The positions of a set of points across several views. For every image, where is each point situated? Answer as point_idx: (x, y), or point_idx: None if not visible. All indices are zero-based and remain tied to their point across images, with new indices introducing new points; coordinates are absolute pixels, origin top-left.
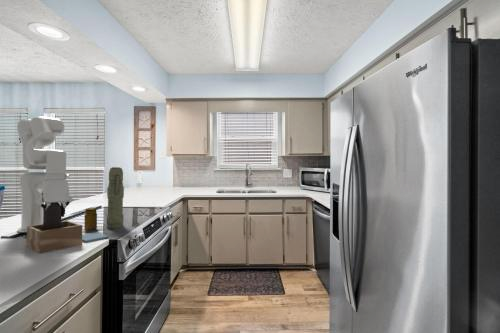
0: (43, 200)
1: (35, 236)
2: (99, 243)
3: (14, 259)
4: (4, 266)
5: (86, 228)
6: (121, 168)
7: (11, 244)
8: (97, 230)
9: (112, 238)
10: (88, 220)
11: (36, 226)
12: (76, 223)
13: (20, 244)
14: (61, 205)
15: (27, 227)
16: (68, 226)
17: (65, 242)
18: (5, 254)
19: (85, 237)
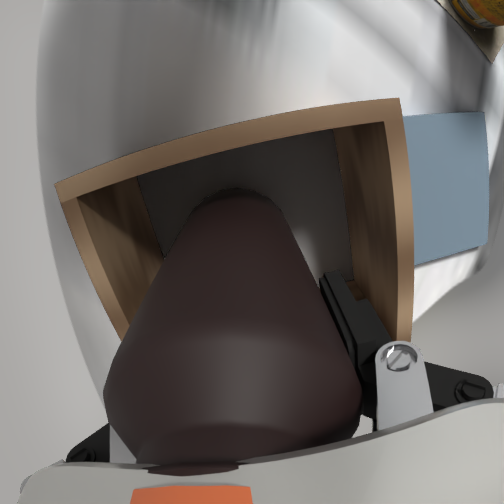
0: (55, 478)
1: None
2: (420, 309)
3: (102, 345)
4: (96, 389)
5: (461, 3)
6: None
7: (59, 69)
8: (494, 41)
9: (487, 257)
10: (502, 3)
11: (118, 181)
12: (409, 286)
13: (92, 89)
14: (380, 389)
15: (62, 193)
16: (372, 161)
17: None
18: (56, 257)
19: (417, 199)
